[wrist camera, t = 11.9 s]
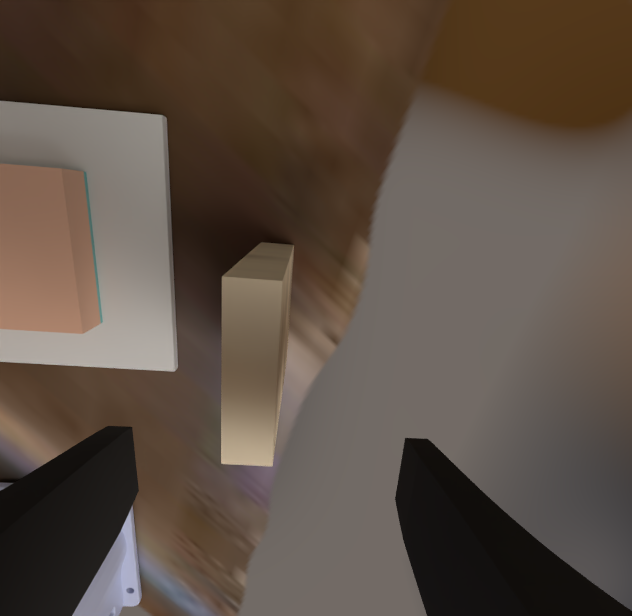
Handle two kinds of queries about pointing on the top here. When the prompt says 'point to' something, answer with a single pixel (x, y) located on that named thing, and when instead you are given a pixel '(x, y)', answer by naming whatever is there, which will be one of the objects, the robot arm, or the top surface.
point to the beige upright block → (254, 352)
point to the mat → (106, 231)
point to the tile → (47, 251)
